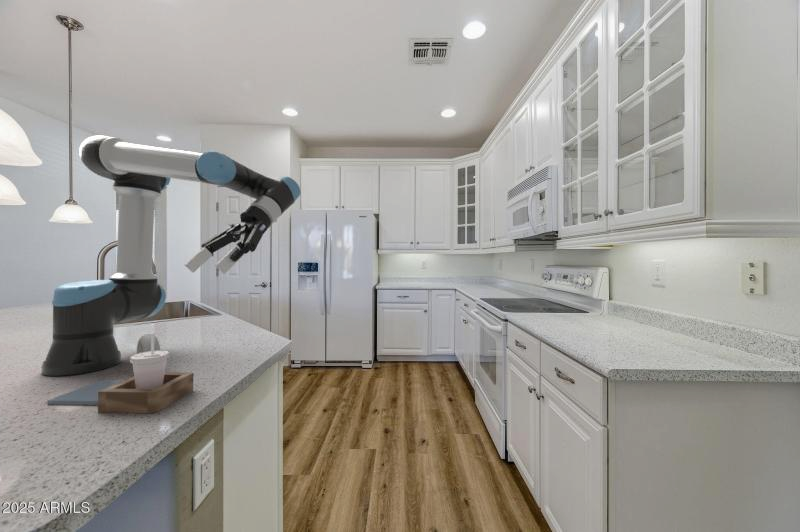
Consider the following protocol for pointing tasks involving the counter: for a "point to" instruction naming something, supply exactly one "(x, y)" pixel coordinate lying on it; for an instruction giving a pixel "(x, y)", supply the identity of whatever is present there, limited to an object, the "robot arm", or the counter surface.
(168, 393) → the collar
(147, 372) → the smoothie
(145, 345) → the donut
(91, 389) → the coaster
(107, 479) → the counter surface
